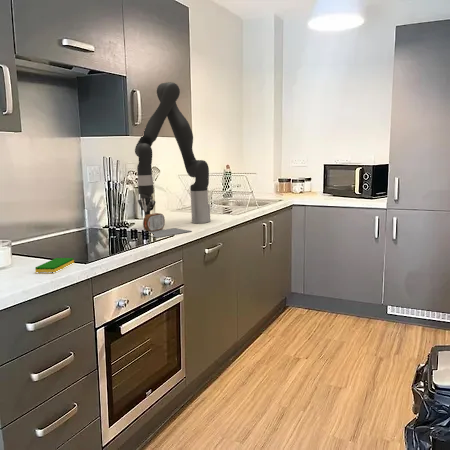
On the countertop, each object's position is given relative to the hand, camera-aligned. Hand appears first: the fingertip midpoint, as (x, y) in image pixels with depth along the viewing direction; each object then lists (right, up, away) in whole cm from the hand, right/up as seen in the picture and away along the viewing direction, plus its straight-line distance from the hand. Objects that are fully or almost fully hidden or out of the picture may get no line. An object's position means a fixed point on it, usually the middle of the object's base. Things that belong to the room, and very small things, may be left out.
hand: (147, 218), depth 234 cm
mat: (+11, -7, -11) cm, 16 cm away
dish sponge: (-21, -19, -71) cm, 76 cm away
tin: (+4, -6, -4) cm, 8 cm away
